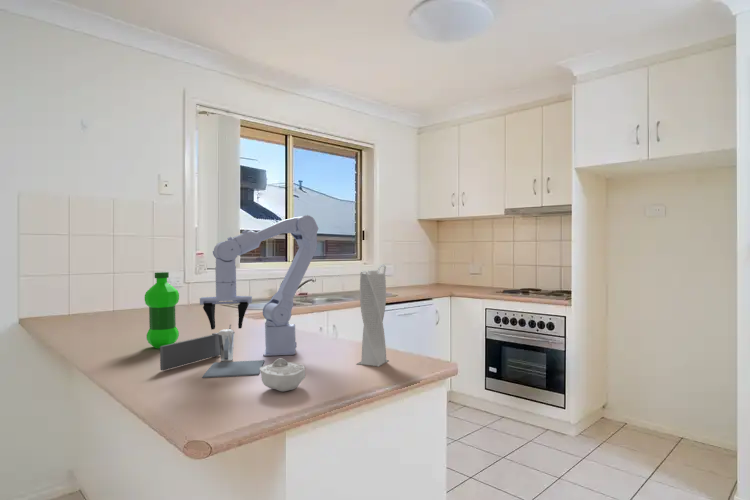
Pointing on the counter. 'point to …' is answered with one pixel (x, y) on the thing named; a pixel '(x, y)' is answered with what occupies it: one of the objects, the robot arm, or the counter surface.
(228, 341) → the milkshake
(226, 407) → the counter surface
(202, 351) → the grey rectangular panel
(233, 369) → the mat
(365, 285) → the skyscraper
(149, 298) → the plastic bottle
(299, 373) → the cell model
